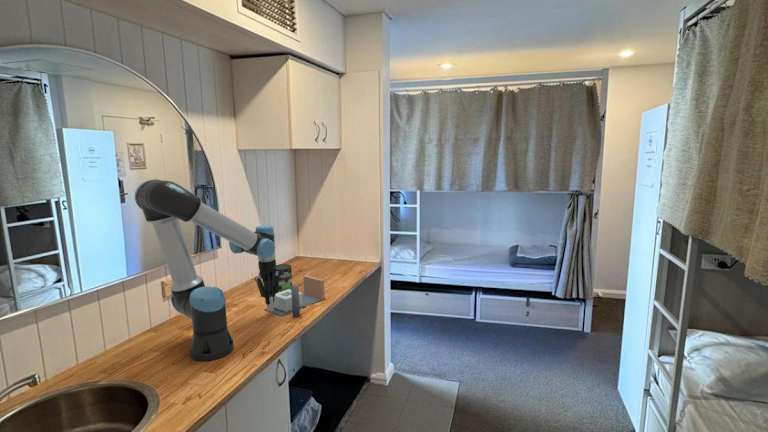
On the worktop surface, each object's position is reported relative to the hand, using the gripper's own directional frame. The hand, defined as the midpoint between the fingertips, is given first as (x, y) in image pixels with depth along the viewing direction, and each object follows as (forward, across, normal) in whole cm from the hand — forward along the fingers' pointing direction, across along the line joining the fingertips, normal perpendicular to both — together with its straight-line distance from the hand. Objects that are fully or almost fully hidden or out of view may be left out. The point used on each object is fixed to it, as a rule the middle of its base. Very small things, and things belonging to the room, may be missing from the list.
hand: (270, 310), depth 186 cm
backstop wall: (+2, +27, 0) cm, 27 cm away
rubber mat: (+2, +15, 0) cm, 15 cm away
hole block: (+2, +10, 0) cm, 10 cm away
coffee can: (+2, +22, +19) cm, 29 cm away
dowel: (+2, +6, -11) cm, 13 cm away
